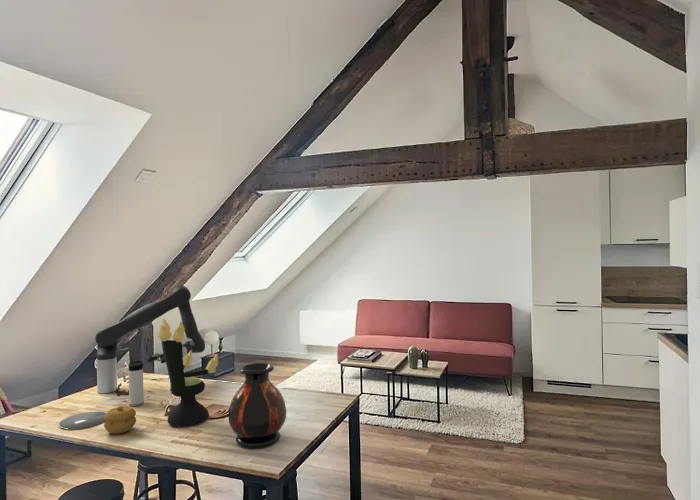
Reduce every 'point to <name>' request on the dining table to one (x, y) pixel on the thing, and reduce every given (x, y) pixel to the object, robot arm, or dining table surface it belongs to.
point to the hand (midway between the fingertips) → (154, 361)
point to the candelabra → (184, 379)
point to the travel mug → (136, 383)
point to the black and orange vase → (257, 408)
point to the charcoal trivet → (83, 420)
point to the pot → (120, 419)
